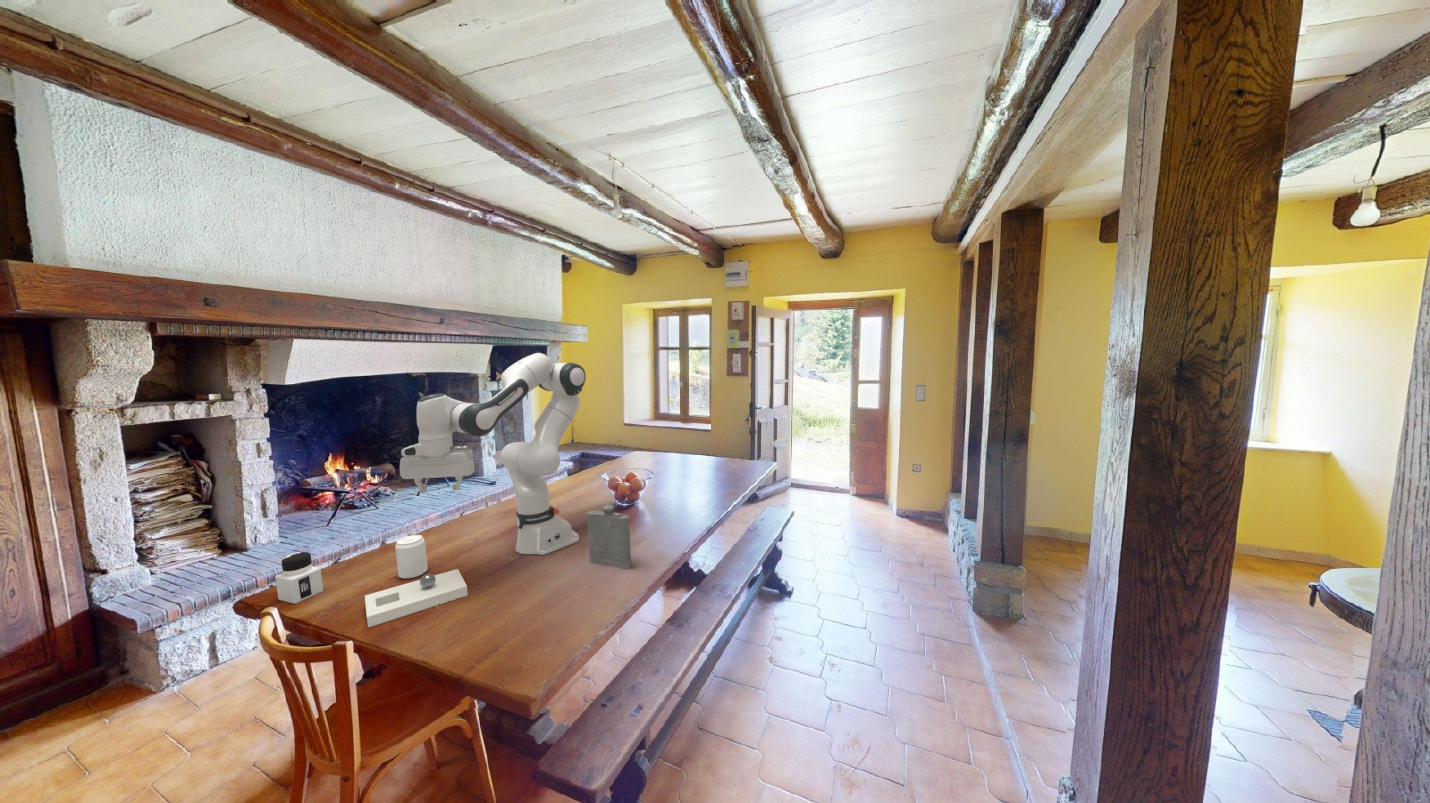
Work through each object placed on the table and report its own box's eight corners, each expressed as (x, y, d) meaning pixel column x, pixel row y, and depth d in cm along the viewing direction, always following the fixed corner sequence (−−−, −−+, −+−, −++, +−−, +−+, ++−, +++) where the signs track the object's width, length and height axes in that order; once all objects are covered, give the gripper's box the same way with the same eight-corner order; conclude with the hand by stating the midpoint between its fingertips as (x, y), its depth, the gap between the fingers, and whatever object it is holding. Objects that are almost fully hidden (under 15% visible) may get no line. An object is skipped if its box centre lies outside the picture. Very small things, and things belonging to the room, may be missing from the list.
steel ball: (435, 582, 139) (433, 569, 139) (437, 587, 136) (436, 574, 136) (419, 586, 137) (418, 574, 136) (421, 592, 134) (420, 579, 133)
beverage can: (413, 580, 146) (409, 545, 145) (392, 578, 148) (388, 543, 147) (433, 568, 154) (430, 534, 153) (413, 566, 156) (409, 533, 154)
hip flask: (587, 562, 157) (584, 506, 154) (595, 557, 161) (592, 502, 158) (627, 569, 151) (625, 511, 149) (634, 564, 155) (631, 507, 152)
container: (324, 590, 141) (318, 551, 140) (294, 604, 134) (288, 562, 133) (308, 587, 144) (302, 547, 142) (278, 600, 137) (271, 559, 135)
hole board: (458, 577, 148) (457, 568, 148) (467, 595, 137) (466, 585, 137) (365, 605, 133) (364, 595, 133) (368, 627, 122) (366, 617, 122)
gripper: (476, 443, 145) (479, 485, 146) (405, 446, 142) (409, 489, 143) (468, 447, 138) (471, 492, 140) (394, 450, 135) (399, 496, 137)
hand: (439, 490), depth 142 cm, fingers open, 8 cm apart
